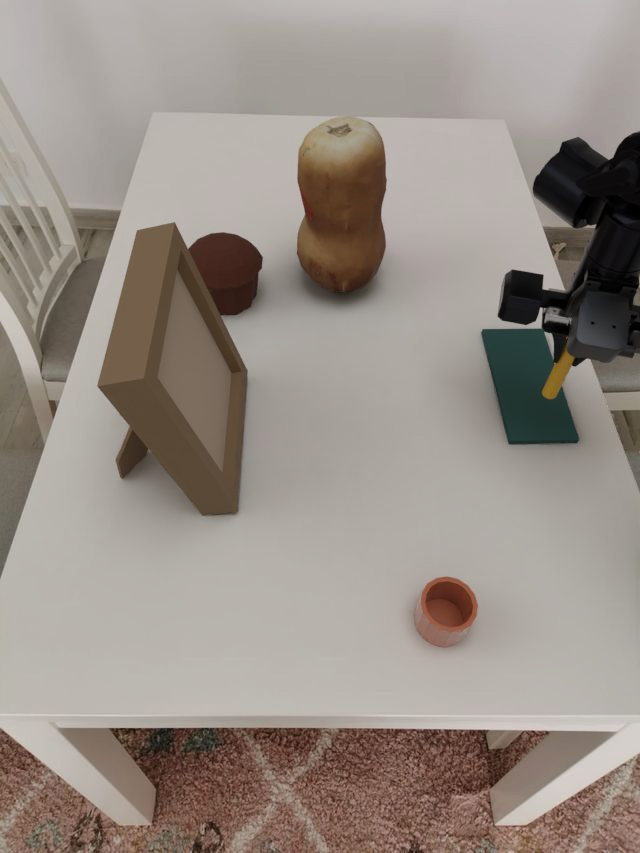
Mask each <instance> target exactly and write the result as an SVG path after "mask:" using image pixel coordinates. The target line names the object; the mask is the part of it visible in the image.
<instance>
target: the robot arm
mask: <svg viewBox="0 0 640 853" xmlns="http://www.w3.org/2000/svg"><path fill="white" fill-rule="evenodd" d="M532 194H533V197H534V198H535V200H538V201H539V202H540V203H541V204H542V205H544V206H545V207H546V208H547V209H549V210H550V211H551V212H553V213H554V214H555V215H556V216H558V217H559V218H560V219H562V220H563V221H564V222H565V223H567V225H569V226H570V227H572V228H573V229H575V230H578V229H583V228H585V227H588V226H594V228H593V230H592V234H591V236H590V238H589V240H587V241H586V244H585V246H584V249H583V250H584V252H583V254H582V257H581V259H580V261H579V264H578V266H577V268H576V271H575V272H573V274H572V276H571V278H570V285H569V287H568V289H567V290H563V289H557V288H553V287H551V288H550V287H549V288H548V289H544V275H545V274H542V273H536V272H530V271H524V270H518V269H510V270H509V271H508V272H506V273H505V274H504V276H503V279H502V281H501V282H502V283H501V286H500V293H499V299H498V300H499V301H498V308H497V314H496V315H497V318H499V319H500V320H501V321H502V322H506V323H513V324H517V325H523V326H528V325H530V324H533V323H535V322H537V319H538V318H539V314H540V310H541V324H540V328H542V330H543V331H544V333H548V334H551V336H552V340H553V360H554V363H558V361H559V359H560V357H561V355H562V352H563V348H564V345H565V342H566V339H567V337H568V341H567V345H566V349H567V352H568V353H569V354H570V355H571V356H573V357H576V358H575V360H574V362H573V364H572V366H571V367H578V366H579V365H580V364H582V363H583V362H585V360H591V361H598V362H600V363H603V364H609V363H612V362H613V361H614V360H615V359H616V358H617V357H622V358H628V359H633V358H634V356H635V354H638V355H640V305H637V304H635V297H636V295H637V293H638V290H639V287H640V130H638V131H635V132H631V134H629V135H627V136H626V137H624V138H623V139H622V141H621V142H620V143H619V144H618V146H616V150H615V151H614V154H613V156H612V157H611V158H610V159H608V157H605V156H604V155H602V154H601V153H600V152H598V151H597V150H596V149H594V148H593V147H591V145H589V143H588V142H587V141H586V140H584V139H582V138H581V137H580V136H576V137H573V138H571V139H567V140H564V141H562V142H561V144H560V147H559V149H558V152H556V153H555V154H554V155H553V156H552V157H551V158H550V159H549V160H548V161H546V162H545V164H544V165H543V167H542V168H541V170H540V171H539V173H537V175H536V176H535V177H534V180H533V184H532Z"/></svg>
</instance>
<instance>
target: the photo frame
mask: <svg viewBox="0 0 640 853" xmlns="http://www.w3.org/2000/svg"><path fill="white" fill-rule="evenodd" d="M188 248H189V247H188V245H187V244H186V241H185V240H184V238H183V235H182V234H181V231H180V230H179V227H178V225H177V223H176V222H175V221H174V222H173V221H172V222H169V223H165V224H159V225H154V226H150V227H146V228H140V229H136V233H135V237H134V240H133V244H132V248H131V252H130V256H129V260H128V264H127V268H126V272H125V276H124V279H123V284H122V287H121V291H120V295H119V299H118V303H117V307H116V310H115V314H114V318H113V322H112V327H111V329H110V330H111V331H110V334H109V338H108V342H107V345H106V346H107V347H106V351H105V354H104V357H103V362H102V365H101V369H100V374H99V378H98V382H97V385H96V386H97V388H98V389H99V390H100V391H101V393H102V394H103V396H105V398H106V399H107V400H108V401H109V403H110V404H111V405H112V407H113V408H114V409H115V410H116V411H117V413H119V415H120V416H121V417H122V419H123V420H124V421H125V422H126V423H127V424H128V426H129V427H128V430H127V432H126V434H125V437H124V439H123V442H122V444H121V447H120V449H119V451H118V453H117V456H116V458H115V463H116V467H117V471H118V474H119V478H120V479H122V480H124V479H125V478H126V477H127V476H128V475H129V474H130V472H131V471H132V470H134V468H136V467H137V465H138V464H140V462H141V461H142V460H143V459H144V458H146V456H147V455H148V452H150V453H151V454H152V456H153V457H154V459H156V460H157V462H158V463H159V465H160V466H162V467H163V469H164V470H165V471H166V473H167V474H168V475H169V476H170V478H171V479H172V480H173V481H174V482H175V483H176V485H177V486H178V488H180V490H181V491H182V492H183V493H184V495H185V496H186V497H187V499H188V500H189V501H190V502H191V503H192V505H193V506H194V508H196V510H197V511H198V512H199V513H200V514H201V515H202V517H203V516H213V515H219V514H220V515H221V514H226V513H228V514H229V513H236V512H238V511H239V501H240V500H239V499H240V486H241V470H242V456H243V445H244V442H243V441H244V431H245V430H244V428H245V414H246V402H247V401H246V399H247V388H248V387H247V386H248V385H247V384H248V372H249V370H248V369H247V366H246V365H245V362H244V360H243V358H242V357H241V354H240V353H239V350H238V348H237V345H236V344H235V342H234V340H233V338H232V336H231V334H230V332H229V330H228V327H227V325H226V324H225V321H224V320H223V317H222V316H221V315H220V313H219V311H218V309H217V307H216V305H215V303H214V301H213V299H212V297H211V295H210V293H209V291H208V289H207V287H206V285H205V283H204V281H203V279H202V277H201V275H200V273H199V270H198V268H197V266H196V264H195V262H194V260H193V258H192V256H191V254H190V252H189V250H188Z"/></svg>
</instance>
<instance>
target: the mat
mask: <svg viewBox="0 0 640 853" xmlns="http://www.w3.org/2000/svg"><path fill="white" fill-rule="evenodd" d="M481 338H482V341H483V346H484V349H485V353H486V357H487V362H488V366H489V369H490V374H491V378H492V383H493V386H494V390H495V395H496V398H497V402H498V407H499V410H500V415H501V418H502V424H503V427H504V431H505V436H506V439H507V444H508V445H547V444H549V445H550V444H551V445H553V444H555V445H556V444H578V443H579V442H580V436H579V433H578V430H577V428H576V424H575V421H574V419H573V415H572V412H571V409H570V406H569V403H568V400H567V396H566V393H565V391H564V388H563V385H562V386H561V388H560V390H559V392H558V394H557V396H556V398H554V399H547V398H545V397H544V396H543V395H542V390H543V388H544V386H545V384H546V382H547V380H548V377H549V375H550V373H551V371H552V369H553V367H554V365H555V363H554V356H553V354H552V351H551V349H550V346H549V343H548V340H547V337H546V332H544V331H543V330H542V328H541V327H540V328H482V329H481Z"/></svg>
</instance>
